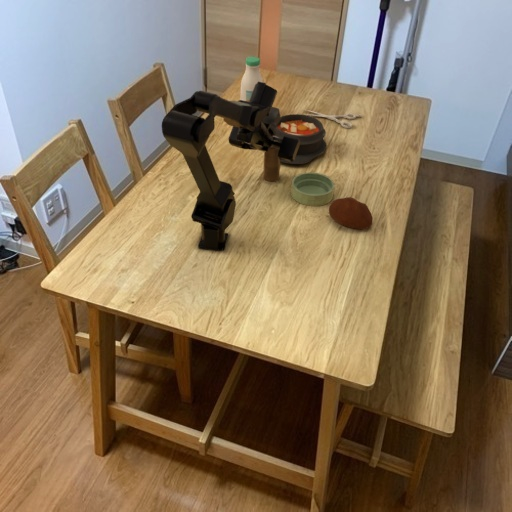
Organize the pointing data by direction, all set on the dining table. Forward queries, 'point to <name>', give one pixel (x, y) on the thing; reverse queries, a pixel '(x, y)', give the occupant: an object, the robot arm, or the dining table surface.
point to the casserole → (303, 136)
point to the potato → (351, 213)
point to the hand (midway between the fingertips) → (272, 151)
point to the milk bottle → (250, 78)
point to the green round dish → (312, 189)
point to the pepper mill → (271, 164)
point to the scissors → (337, 117)
